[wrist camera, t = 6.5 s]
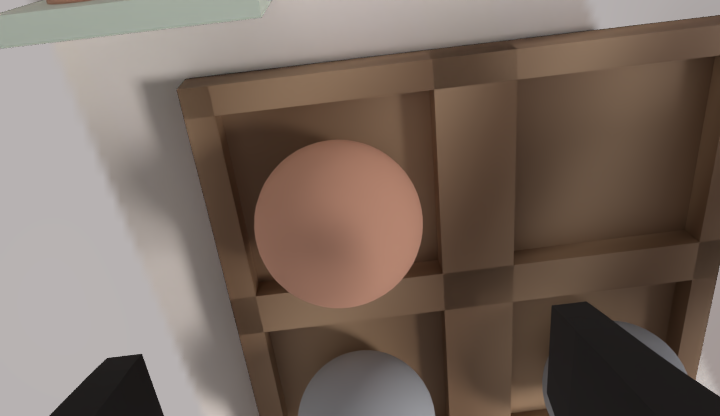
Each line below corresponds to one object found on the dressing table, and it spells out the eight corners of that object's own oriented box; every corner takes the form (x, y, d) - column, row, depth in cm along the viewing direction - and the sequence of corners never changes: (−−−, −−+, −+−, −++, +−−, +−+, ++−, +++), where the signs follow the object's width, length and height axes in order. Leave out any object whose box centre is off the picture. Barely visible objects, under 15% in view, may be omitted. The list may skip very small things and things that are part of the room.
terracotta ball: (403, 107, 16) (433, 168, 12) (413, 242, 18) (442, 331, 14) (247, 128, 16) (227, 195, 12) (274, 260, 18) (265, 355, 14)
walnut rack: (743, 12, 16) (771, 18, 15) (669, 402, 22) (685, 424, 21) (185, 78, 16) (176, 89, 15) (276, 450, 22) (274, 475, 21)
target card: (270, -38, 15) (254, -24, 11) (275, -7, 15) (261, 17, 11) (65, -14, 15) (-18, 9, 11) (75, 17, 15) (-3, 49, 11)
